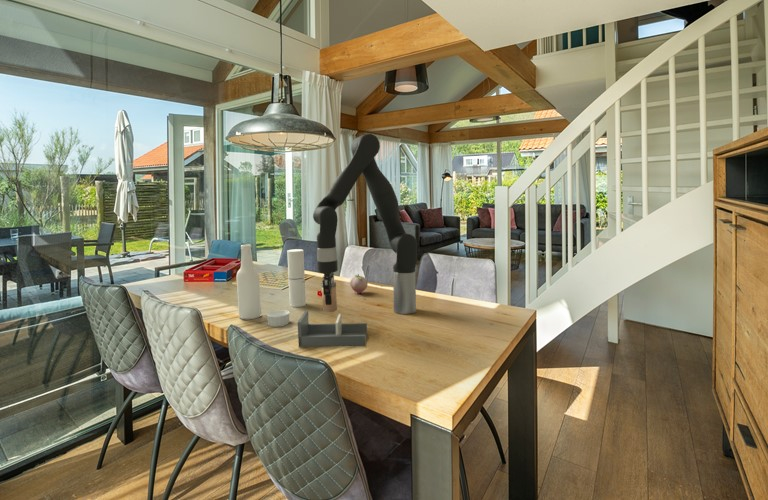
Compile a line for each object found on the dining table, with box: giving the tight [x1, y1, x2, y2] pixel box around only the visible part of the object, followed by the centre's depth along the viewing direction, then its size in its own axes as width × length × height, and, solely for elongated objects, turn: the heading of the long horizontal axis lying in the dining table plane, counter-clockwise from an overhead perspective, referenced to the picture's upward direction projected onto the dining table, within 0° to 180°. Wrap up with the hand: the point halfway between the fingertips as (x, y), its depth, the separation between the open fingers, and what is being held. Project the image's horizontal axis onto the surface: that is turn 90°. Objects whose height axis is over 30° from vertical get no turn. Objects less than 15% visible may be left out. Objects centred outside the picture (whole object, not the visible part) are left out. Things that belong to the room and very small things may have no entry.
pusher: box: [334, 313, 342, 335], centre depth 137 cm, size 1×10×7 cm, turn 0°
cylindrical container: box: [286, 248, 307, 308], centre depth 179 cm, size 7×7×25 cm
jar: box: [320, 281, 338, 313], centre depth 153 cm, size 6×6×11 cm
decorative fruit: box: [349, 274, 369, 294], centre depth 199 cm, size 9×8×10 cm
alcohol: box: [236, 243, 262, 321], centre depth 162 cm, size 9×9×30 cm
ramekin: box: [265, 309, 291, 328], centre depth 155 cm, size 9×9×4 cm
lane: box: [297, 310, 368, 348], centre depth 137 cm, size 22×13×8 cm, turn 90°
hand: (329, 302), depth 153 cm, fingers closed on jar, 5 cm apart
